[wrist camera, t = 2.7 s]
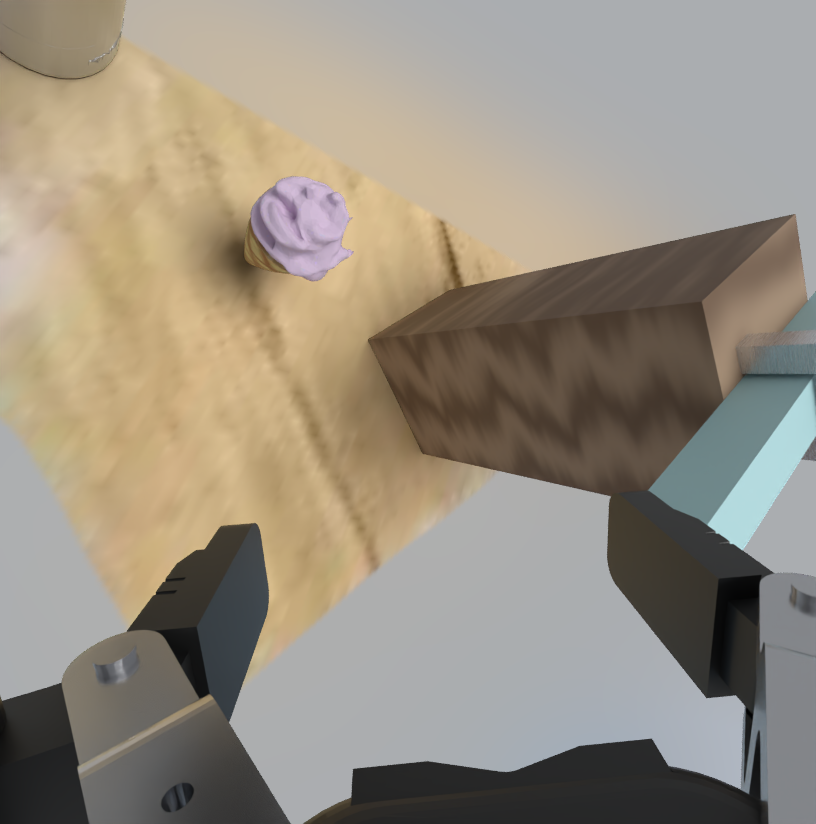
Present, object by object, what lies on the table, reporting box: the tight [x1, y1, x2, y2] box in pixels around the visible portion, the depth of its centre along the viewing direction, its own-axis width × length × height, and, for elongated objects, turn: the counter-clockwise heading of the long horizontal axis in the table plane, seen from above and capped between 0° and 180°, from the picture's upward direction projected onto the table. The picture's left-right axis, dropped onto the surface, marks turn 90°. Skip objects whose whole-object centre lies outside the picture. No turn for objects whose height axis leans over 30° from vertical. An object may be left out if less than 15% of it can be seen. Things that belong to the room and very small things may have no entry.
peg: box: [648, 292, 816, 550], centre depth 26 cm, size 24×3×3 cm, turn 121°
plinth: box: [368, 214, 808, 496], centre depth 42 cm, size 14×12×32 cm
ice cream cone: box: [244, 177, 354, 281], centre depth 37 cm, size 7×6×15 cm
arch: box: [736, 330, 816, 461], centre depth 26 cm, size 7×2×4 cm, turn 31°
